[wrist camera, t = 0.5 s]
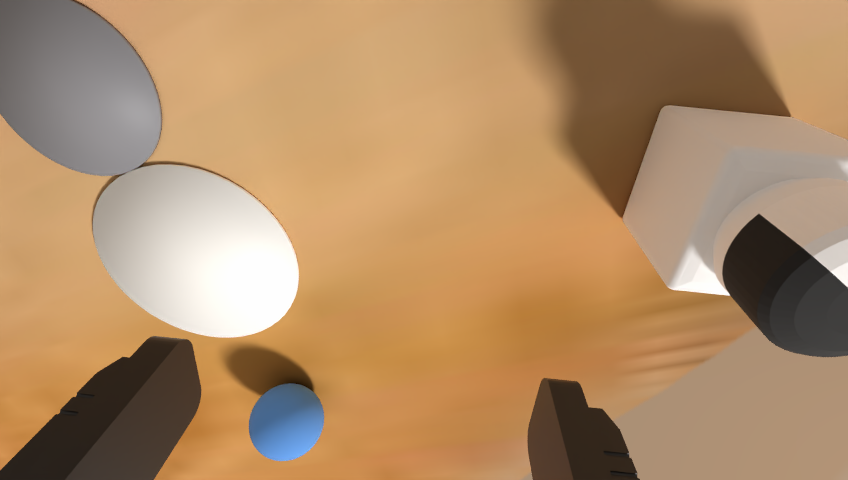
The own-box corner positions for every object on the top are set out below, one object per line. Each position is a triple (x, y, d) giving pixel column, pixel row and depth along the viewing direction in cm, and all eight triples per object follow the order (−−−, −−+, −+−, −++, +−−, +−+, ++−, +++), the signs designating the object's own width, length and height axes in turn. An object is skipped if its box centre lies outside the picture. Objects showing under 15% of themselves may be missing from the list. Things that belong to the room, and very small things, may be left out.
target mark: (71, 146, 27) (68, 147, 27) (299, 184, 27) (298, 185, 27) (118, 319, 34) (116, 321, 34) (298, 348, 34) (297, 350, 34)
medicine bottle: (736, 232, 27) (908, 390, 17) (619, 221, 27) (718, 370, 17) (795, 116, 23) (1063, 225, 13) (660, 102, 23) (819, 201, 13)
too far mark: (-51, -24, 23) (-55, -25, 22) (146, 10, 23) (143, 10, 23) (13, 160, 28) (10, 161, 27) (173, 186, 28) (171, 187, 28)
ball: (263, 363, 36) (233, 423, 31) (333, 374, 36) (313, 436, 31) (266, 408, 38) (238, 470, 34) (330, 418, 38) (311, 481, 34)
